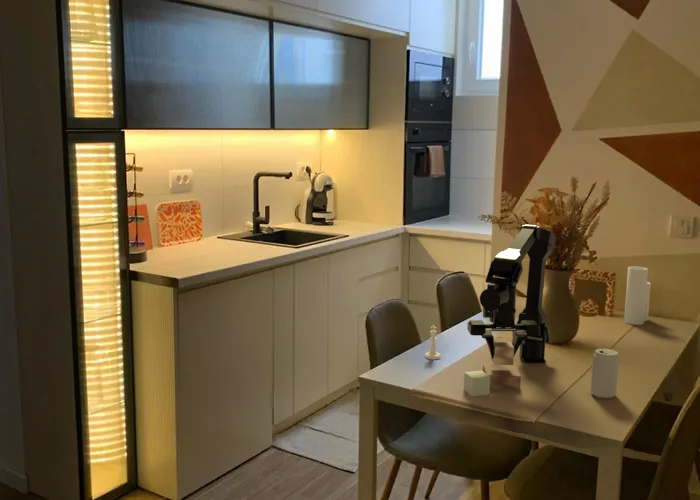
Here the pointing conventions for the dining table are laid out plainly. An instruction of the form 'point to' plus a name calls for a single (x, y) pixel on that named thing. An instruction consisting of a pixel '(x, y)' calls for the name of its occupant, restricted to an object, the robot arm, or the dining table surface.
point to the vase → (637, 296)
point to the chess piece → (432, 346)
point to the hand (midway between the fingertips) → (502, 358)
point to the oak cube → (503, 353)
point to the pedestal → (503, 376)
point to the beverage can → (604, 373)
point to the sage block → (476, 383)
